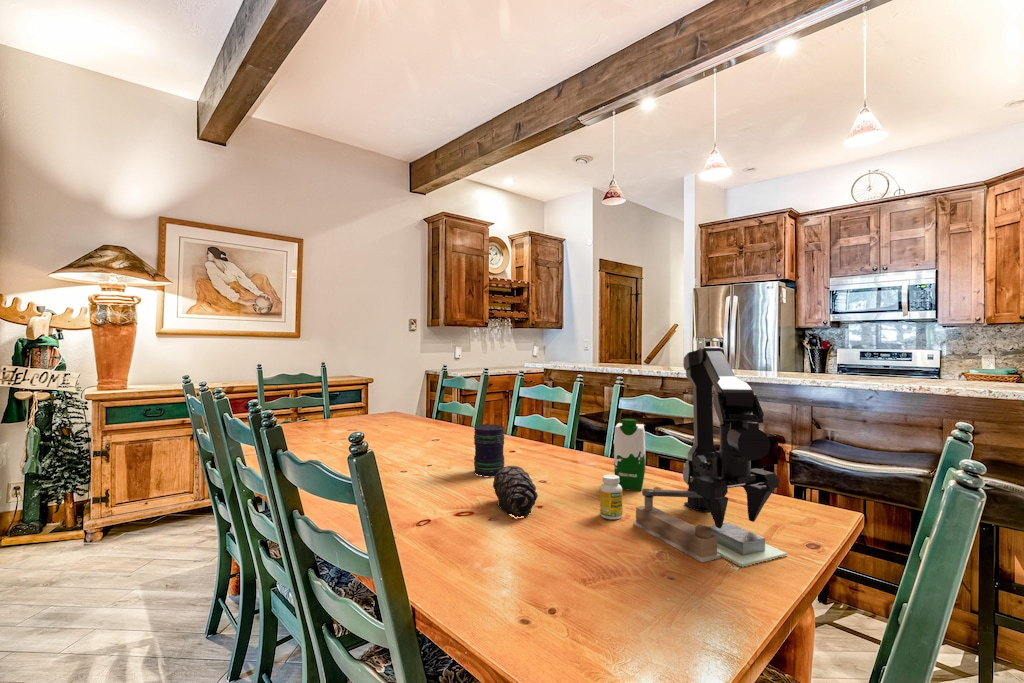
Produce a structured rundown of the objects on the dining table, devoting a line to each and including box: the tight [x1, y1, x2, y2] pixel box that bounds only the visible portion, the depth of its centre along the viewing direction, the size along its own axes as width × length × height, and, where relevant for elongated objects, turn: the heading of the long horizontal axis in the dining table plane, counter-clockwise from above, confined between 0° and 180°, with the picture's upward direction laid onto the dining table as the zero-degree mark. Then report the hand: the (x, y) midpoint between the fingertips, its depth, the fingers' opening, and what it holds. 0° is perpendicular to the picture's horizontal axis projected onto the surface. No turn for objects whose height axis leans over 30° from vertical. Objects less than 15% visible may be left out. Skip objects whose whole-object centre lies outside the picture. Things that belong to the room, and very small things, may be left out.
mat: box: [717, 543, 788, 568], centre depth 97 cm, size 12×14×1 cm
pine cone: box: [492, 465, 539, 519], centre depth 121 cm, size 10×18×10 cm, turn 21°
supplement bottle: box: [599, 474, 623, 520], centre depth 115 cm, size 5×5×10 cm
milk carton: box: [613, 418, 646, 492], centre depth 139 cm, size 9×9×20 cm
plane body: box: [632, 496, 722, 563], centre depth 101 cm, size 21×5×7 cm, turn 23°
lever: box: [641, 488, 703, 498], centre depth 108 cm, size 16×3×2 cm, turn 84°
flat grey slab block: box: [707, 522, 766, 556], centre depth 97 cm, size 6×9×2 cm, turn 23°
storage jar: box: [473, 424, 505, 476], centre depth 154 cm, size 10×10×15 cm
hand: (735, 524), depth 97 cm, fingers open, 9 cm apart
